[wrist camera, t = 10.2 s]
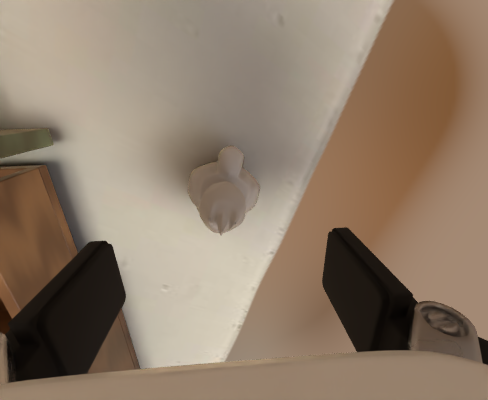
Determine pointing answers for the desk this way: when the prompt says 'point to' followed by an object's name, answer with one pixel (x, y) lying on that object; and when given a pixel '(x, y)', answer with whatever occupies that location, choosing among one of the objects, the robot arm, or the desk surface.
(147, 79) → the desk surface
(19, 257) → the drawer
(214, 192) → the rubber duck
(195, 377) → the robot arm
